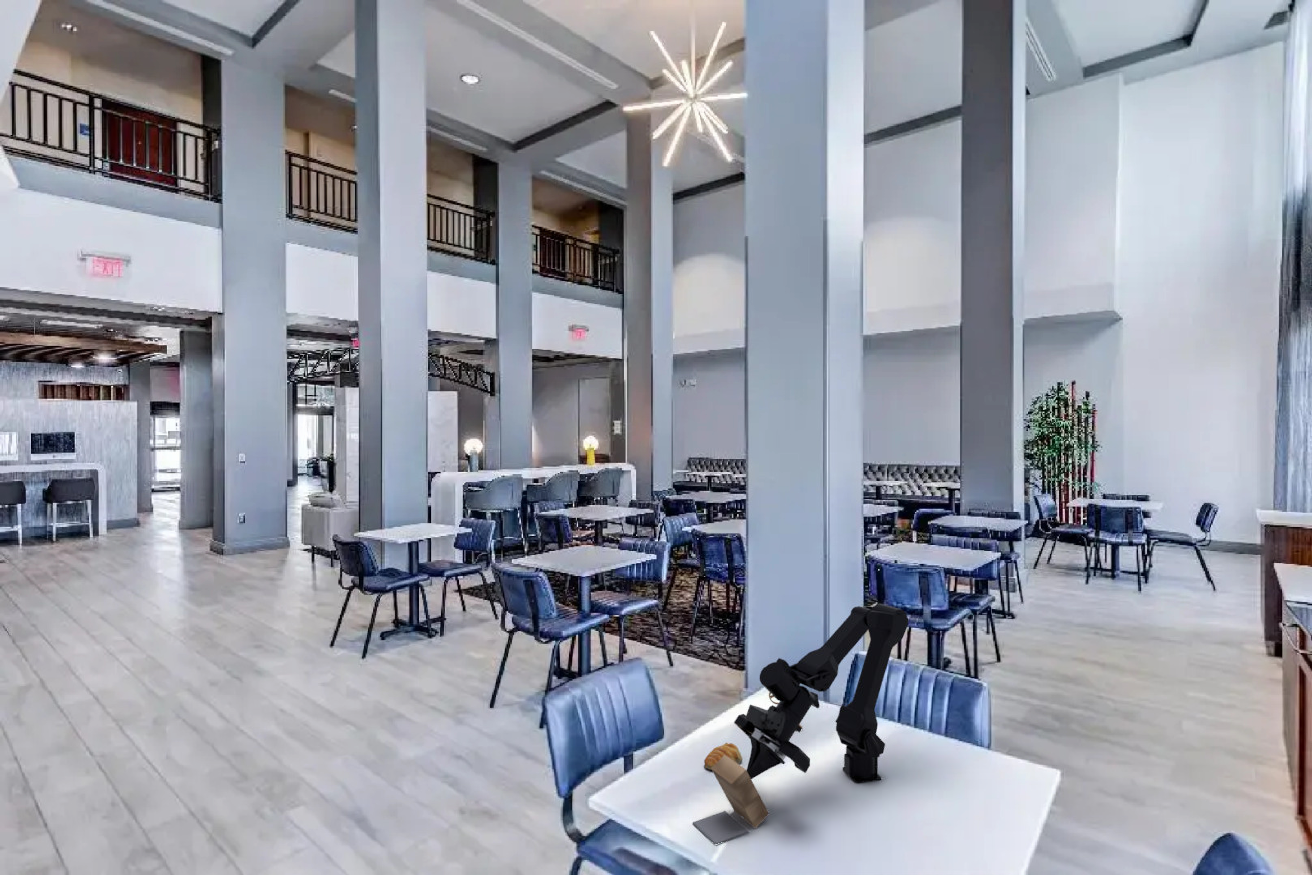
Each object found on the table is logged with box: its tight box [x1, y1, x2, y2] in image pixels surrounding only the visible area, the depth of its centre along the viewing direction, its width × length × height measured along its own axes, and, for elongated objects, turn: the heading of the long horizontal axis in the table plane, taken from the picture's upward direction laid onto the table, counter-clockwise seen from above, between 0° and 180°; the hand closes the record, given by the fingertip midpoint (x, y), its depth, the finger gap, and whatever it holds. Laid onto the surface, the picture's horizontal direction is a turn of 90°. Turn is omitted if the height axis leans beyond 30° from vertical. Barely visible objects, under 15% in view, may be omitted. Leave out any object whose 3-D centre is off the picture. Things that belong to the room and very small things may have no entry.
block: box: [711, 755, 770, 829], centre depth 137 cm, size 4×7×12 cm, turn 30°
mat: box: [692, 810, 750, 845], centre depth 134 cm, size 8×8×1 cm
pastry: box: [703, 742, 743, 771], centre depth 160 cm, size 9×7×4 cm
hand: (747, 777), depth 138 cm, fingers closed
